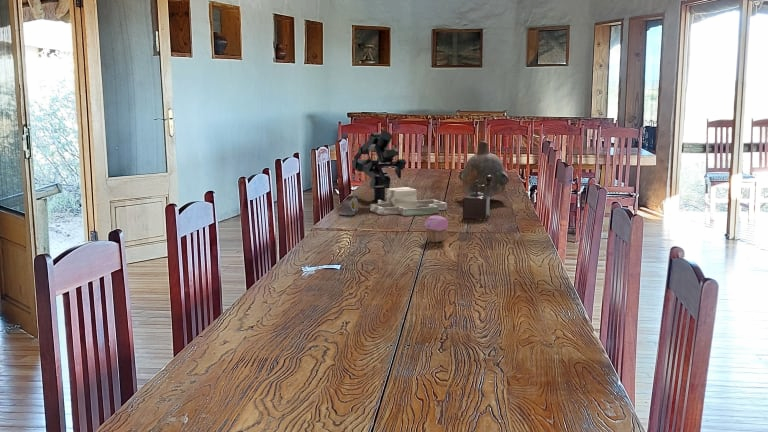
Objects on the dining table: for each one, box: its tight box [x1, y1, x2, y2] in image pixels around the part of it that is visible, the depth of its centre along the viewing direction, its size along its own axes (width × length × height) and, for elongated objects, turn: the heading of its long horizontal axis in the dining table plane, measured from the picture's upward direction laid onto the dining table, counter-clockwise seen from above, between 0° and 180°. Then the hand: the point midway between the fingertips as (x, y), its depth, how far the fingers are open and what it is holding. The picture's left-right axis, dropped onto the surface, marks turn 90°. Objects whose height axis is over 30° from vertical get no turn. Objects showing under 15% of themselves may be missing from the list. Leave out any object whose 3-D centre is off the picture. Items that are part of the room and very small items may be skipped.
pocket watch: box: [339, 191, 359, 217], centre depth 340 cm, size 8×8×10 cm
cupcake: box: [424, 214, 449, 243], centre depth 287 cm, size 9×9×10 cm
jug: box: [458, 140, 510, 198], centre depth 382 cm, size 24×21×30 cm
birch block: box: [386, 186, 418, 209], centre depth 360 cm, size 9×11×9 cm
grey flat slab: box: [369, 199, 448, 217], centre depth 355 cm, size 28×34×3 cm
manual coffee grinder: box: [462, 175, 494, 220], centre depth 339 cm, size 16×11×18 cm
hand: (392, 178), depth 366 cm, fingers open, 8 cm apart
